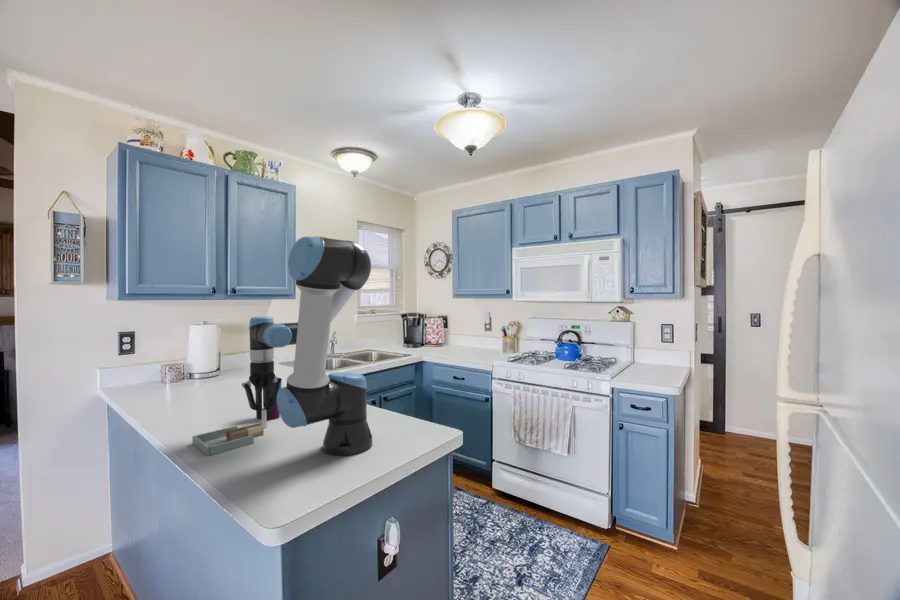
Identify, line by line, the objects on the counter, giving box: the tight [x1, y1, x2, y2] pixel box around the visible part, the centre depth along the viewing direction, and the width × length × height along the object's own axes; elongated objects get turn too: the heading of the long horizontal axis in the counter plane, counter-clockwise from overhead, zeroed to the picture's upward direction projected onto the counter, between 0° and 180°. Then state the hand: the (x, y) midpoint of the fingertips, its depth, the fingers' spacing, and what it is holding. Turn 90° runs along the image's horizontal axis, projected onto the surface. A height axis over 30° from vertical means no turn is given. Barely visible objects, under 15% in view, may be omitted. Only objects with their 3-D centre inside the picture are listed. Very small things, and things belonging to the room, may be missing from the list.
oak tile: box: [242, 422, 265, 438], centre depth 131 cm, size 5×5×3 cm
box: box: [191, 425, 255, 457], centre depth 124 cm, size 15×13×2 cm
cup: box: [267, 381, 282, 421], centre depth 150 cm, size 7×7×15 cm
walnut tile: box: [225, 426, 248, 442], centre depth 128 cm, size 5×5×3 cm
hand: (262, 427), depth 134 cm, fingers closed
